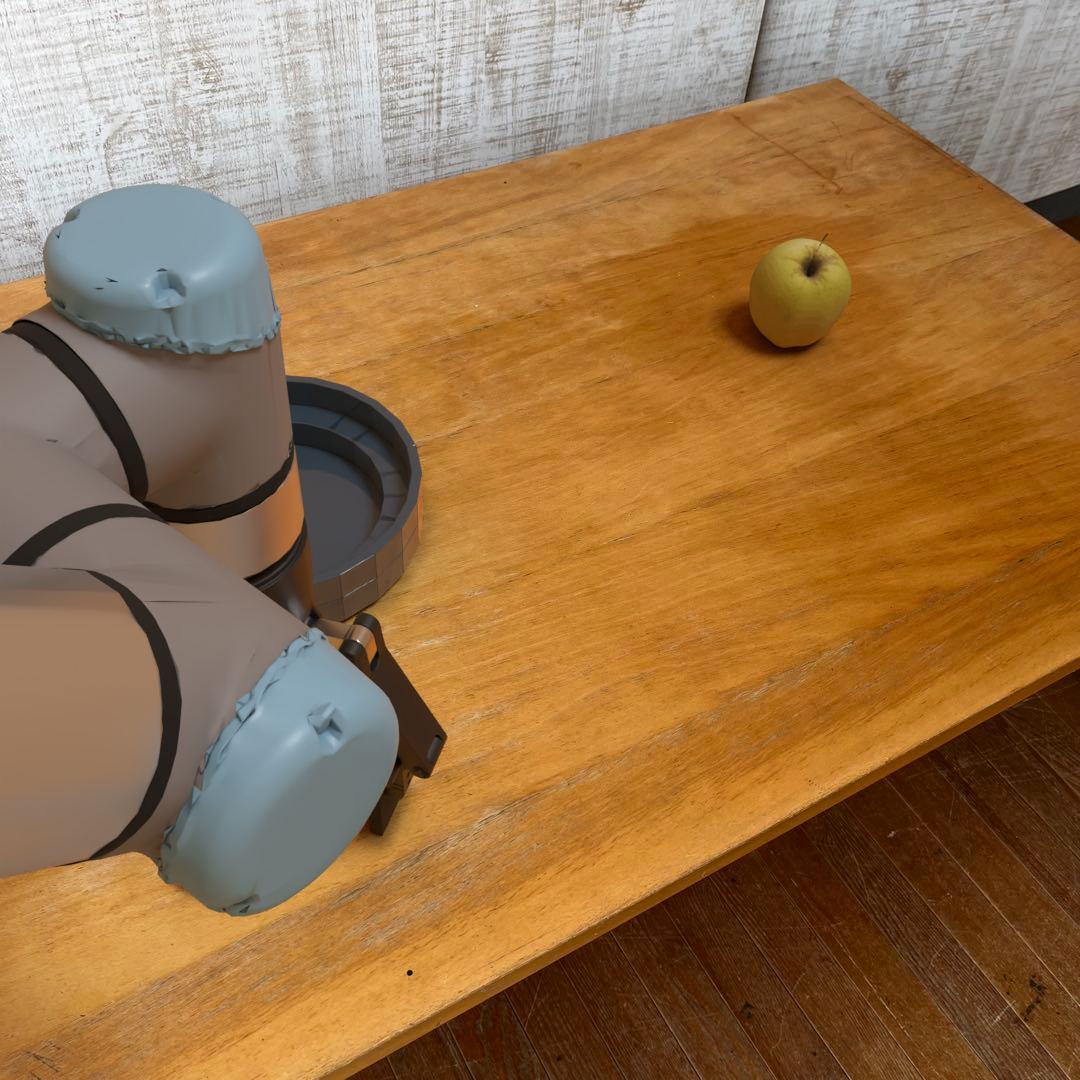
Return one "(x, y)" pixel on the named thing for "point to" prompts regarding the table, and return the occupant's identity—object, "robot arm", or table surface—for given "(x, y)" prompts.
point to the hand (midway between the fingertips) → (276, 777)
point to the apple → (798, 292)
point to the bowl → (354, 493)
